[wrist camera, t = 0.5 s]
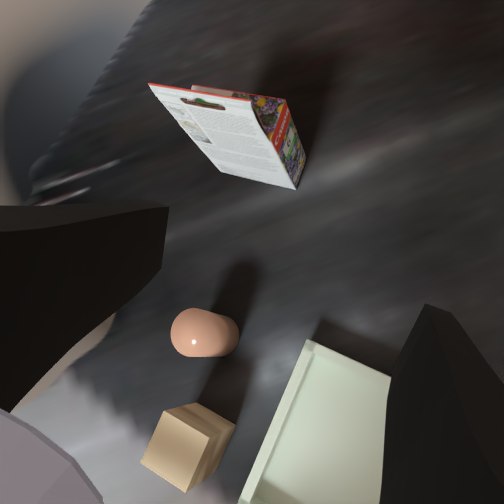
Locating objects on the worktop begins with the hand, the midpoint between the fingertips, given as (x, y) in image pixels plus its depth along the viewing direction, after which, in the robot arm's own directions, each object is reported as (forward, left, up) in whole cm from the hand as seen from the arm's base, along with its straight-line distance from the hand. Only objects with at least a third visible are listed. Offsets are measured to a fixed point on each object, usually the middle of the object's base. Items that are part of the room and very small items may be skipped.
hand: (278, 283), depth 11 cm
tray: (-8, -5, -25) cm, 27 cm away
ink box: (+11, +13, -25) cm, 30 cm away
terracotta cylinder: (-5, +10, -25) cm, 27 cm away
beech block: (-13, +7, -25) cm, 29 cm away
